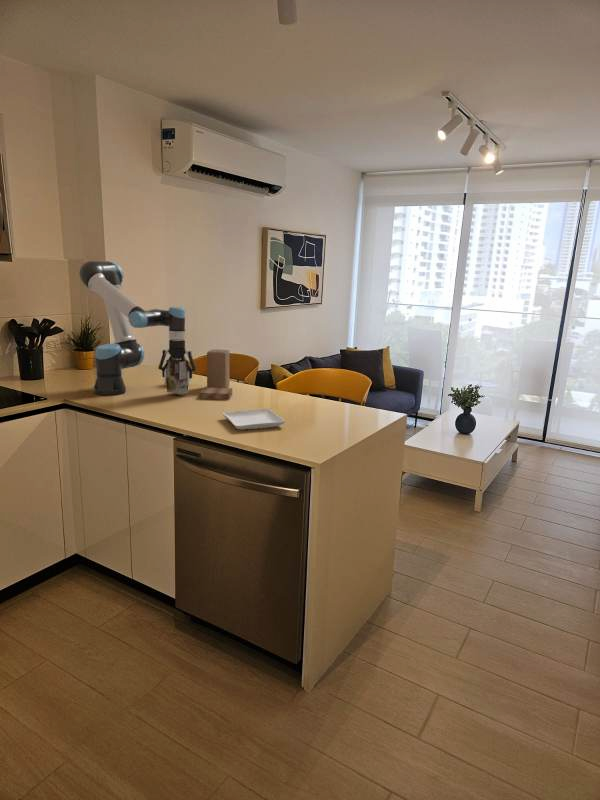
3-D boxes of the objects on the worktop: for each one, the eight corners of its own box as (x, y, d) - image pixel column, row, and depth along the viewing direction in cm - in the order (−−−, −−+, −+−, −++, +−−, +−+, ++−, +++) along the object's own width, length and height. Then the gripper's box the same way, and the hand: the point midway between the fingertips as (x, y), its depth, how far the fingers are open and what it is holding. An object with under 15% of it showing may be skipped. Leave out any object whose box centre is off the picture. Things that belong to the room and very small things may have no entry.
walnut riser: (200, 398, 260) (200, 392, 259) (204, 393, 271) (204, 387, 271) (229, 399, 260) (229, 393, 259) (232, 394, 271) (232, 388, 271)
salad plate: (235, 433, 208) (235, 425, 208) (221, 419, 227) (221, 411, 226) (286, 429, 217) (286, 420, 216) (268, 415, 236) (268, 408, 235)
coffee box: (188, 392, 266) (188, 360, 262) (179, 394, 260) (179, 361, 257) (175, 389, 270) (175, 357, 266) (165, 391, 265) (165, 359, 261)
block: (229, 386, 288) (230, 349, 284) (225, 390, 279) (225, 352, 274) (211, 385, 289) (211, 348, 285) (206, 389, 280) (206, 351, 275)
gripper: (151, 339, 255) (151, 384, 261) (199, 341, 256) (199, 387, 261) (155, 337, 263) (155, 381, 268) (202, 339, 263) (202, 383, 268)
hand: (177, 384), depth 264 cm, fingers closed on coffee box, 10 cm apart
